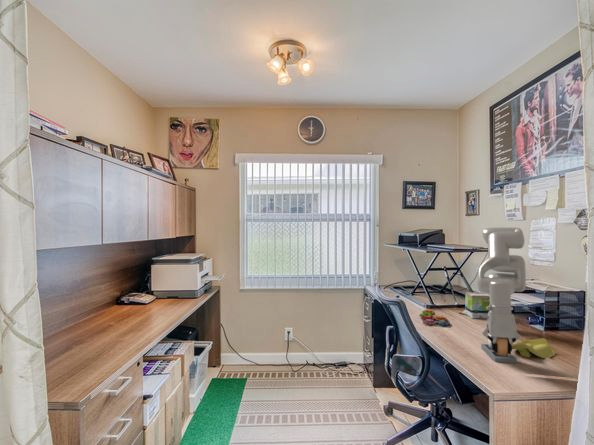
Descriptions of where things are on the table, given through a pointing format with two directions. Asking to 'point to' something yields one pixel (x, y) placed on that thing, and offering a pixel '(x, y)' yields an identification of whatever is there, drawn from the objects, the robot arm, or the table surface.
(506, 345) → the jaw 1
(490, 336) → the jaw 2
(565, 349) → the table surface
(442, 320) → the gear puzzle
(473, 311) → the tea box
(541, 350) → the plastic component
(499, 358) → the housing
